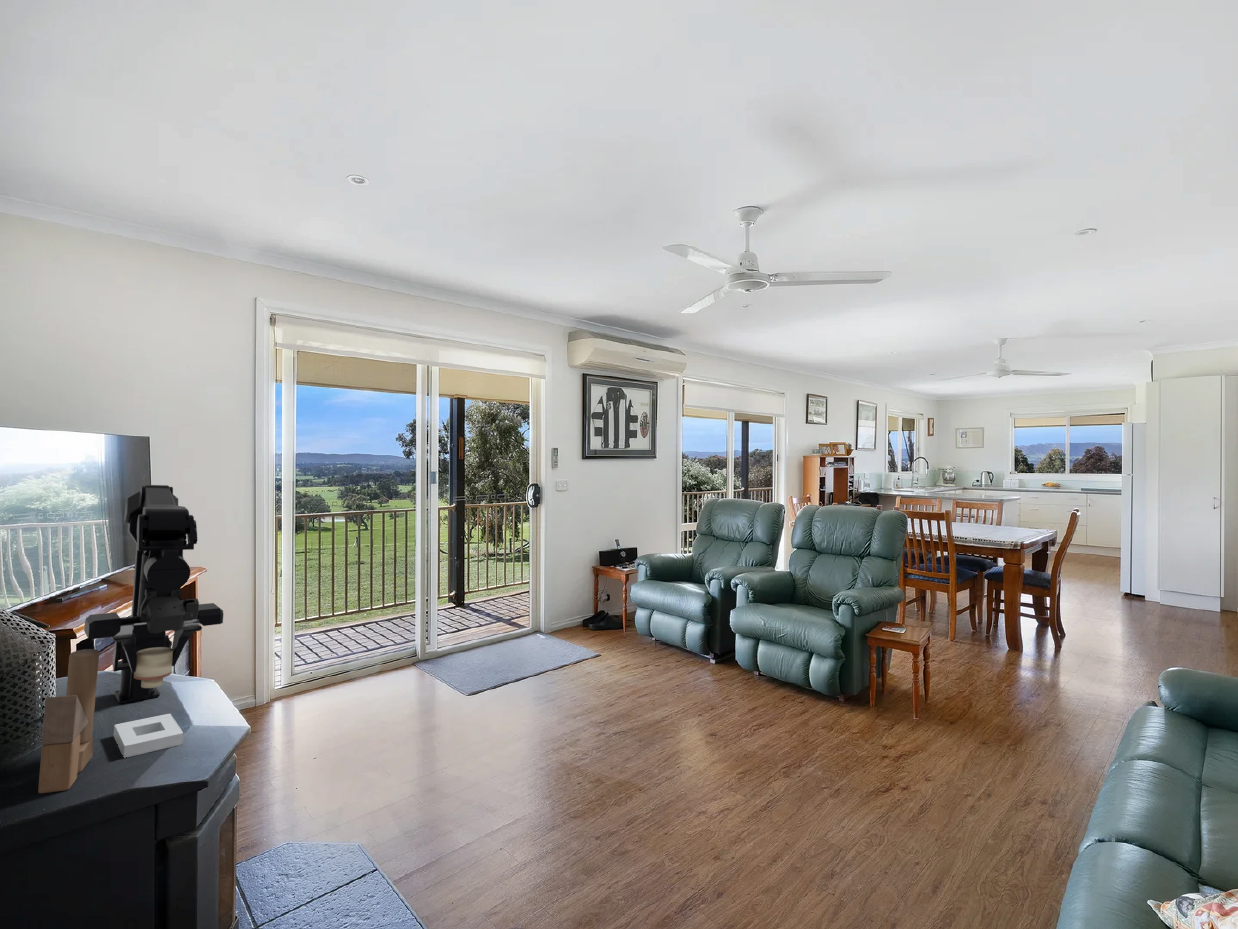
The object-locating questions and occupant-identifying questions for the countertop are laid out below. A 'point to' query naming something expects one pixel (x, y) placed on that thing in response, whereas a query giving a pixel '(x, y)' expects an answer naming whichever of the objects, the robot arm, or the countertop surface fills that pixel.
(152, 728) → the board
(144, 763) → the countertop surface
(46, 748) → the wooden block
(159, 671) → the peg
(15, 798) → the countertop surface
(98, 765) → the countertop surface
